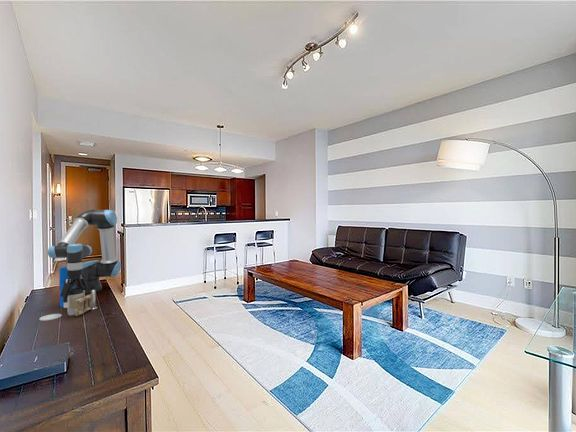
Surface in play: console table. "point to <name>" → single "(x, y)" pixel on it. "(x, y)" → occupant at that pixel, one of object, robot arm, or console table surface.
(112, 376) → the console table surface
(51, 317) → the coaster
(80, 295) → the coffee cup
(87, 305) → the gate
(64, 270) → the thermos
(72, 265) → the robot arm
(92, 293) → the hinge post
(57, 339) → the console table surface
